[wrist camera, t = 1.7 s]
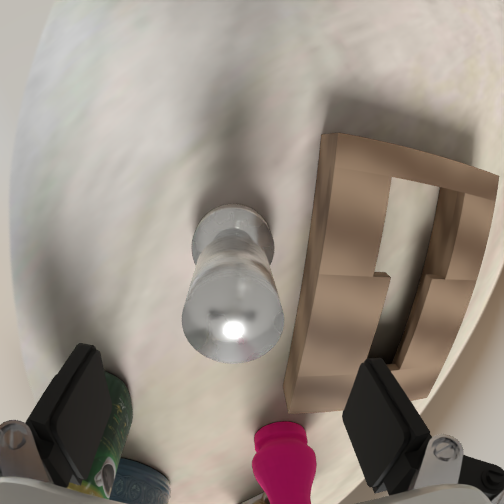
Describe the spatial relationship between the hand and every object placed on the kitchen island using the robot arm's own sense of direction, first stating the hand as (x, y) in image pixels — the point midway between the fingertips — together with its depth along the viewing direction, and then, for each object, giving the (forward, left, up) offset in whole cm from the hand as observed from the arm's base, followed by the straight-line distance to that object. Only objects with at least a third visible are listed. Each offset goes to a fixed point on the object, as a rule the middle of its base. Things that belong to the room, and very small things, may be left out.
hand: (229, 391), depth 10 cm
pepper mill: (+23, +7, -16) cm, 29 cm away
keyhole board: (+2, +14, -16) cm, 21 cm away
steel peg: (-1, 0, -16) cm, 16 cm away
